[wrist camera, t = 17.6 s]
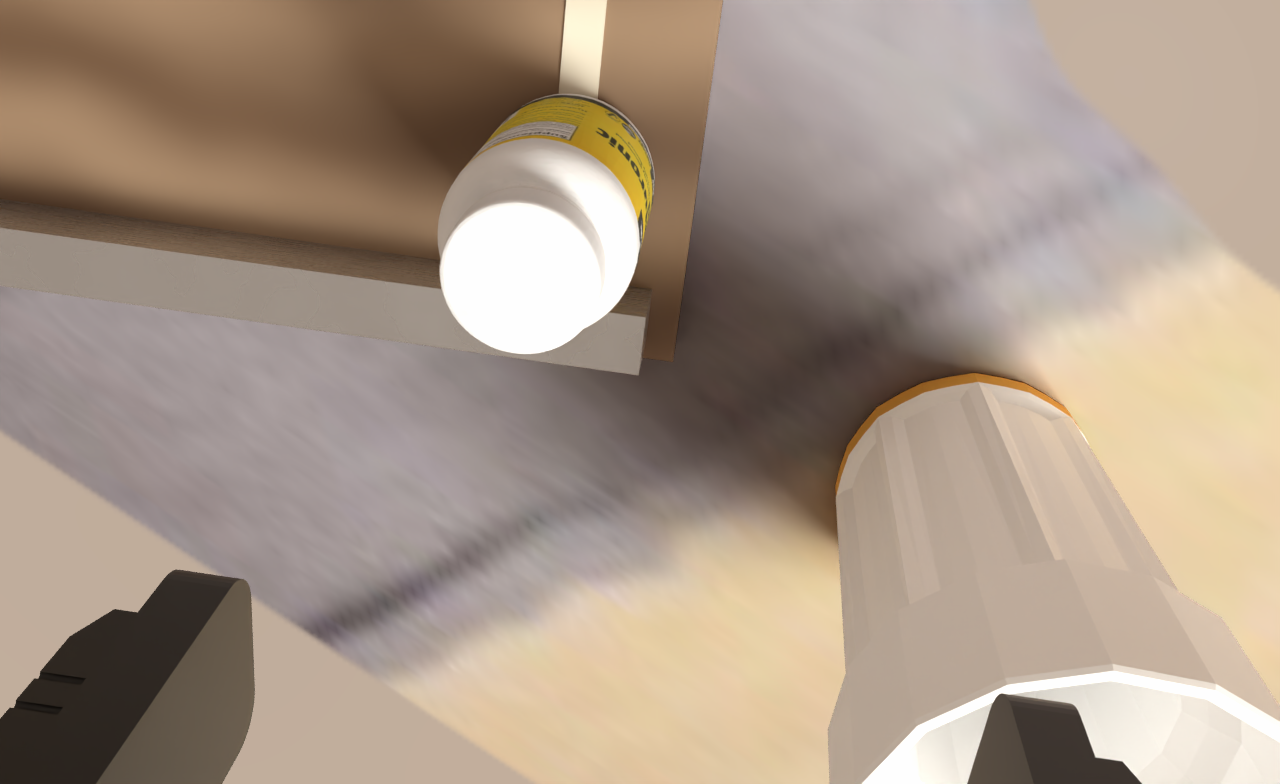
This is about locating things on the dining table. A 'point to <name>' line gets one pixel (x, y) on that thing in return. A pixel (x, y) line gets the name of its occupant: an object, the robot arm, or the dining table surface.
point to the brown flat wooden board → (339, 111)
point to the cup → (1019, 602)
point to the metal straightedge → (273, 282)
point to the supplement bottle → (545, 224)
